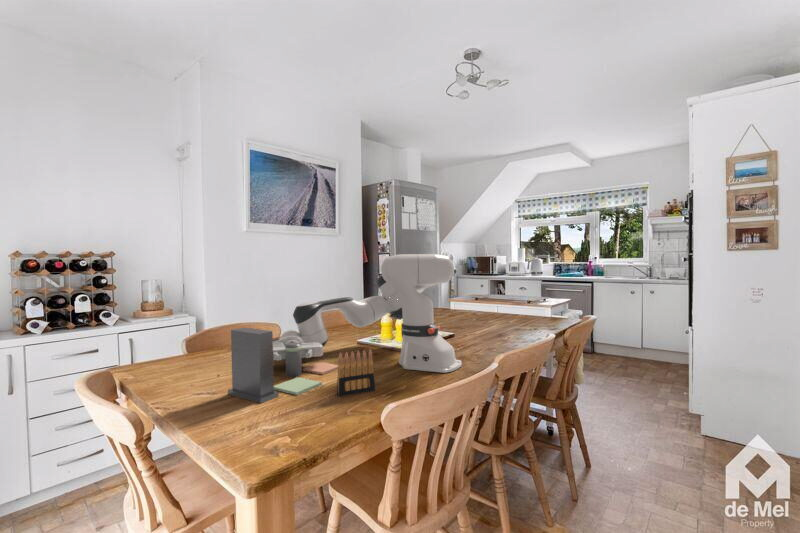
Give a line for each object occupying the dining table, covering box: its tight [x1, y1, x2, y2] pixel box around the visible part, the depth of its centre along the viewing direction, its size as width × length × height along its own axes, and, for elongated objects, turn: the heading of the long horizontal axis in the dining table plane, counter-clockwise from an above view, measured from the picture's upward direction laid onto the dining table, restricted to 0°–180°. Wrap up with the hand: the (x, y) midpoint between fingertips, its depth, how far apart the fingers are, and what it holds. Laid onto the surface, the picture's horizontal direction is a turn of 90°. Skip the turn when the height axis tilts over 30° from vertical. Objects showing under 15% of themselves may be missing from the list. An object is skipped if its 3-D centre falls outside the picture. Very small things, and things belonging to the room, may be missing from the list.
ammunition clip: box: [336, 348, 376, 397], centre depth 110 cm, size 11×2×12 cm, turn 115°
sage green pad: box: [274, 376, 323, 396], centre depth 115 cm, size 10×10×1 cm
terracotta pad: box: [302, 361, 338, 376], centre depth 133 cm, size 9×9×1 cm
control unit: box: [227, 327, 280, 404], centre depth 108 cm, size 14×6×18 cm, turn 59°
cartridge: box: [285, 343, 303, 378], centre depth 127 cm, size 5×5×10 cm
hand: (293, 357), depth 126 cm, fingers open, 8 cm apart
